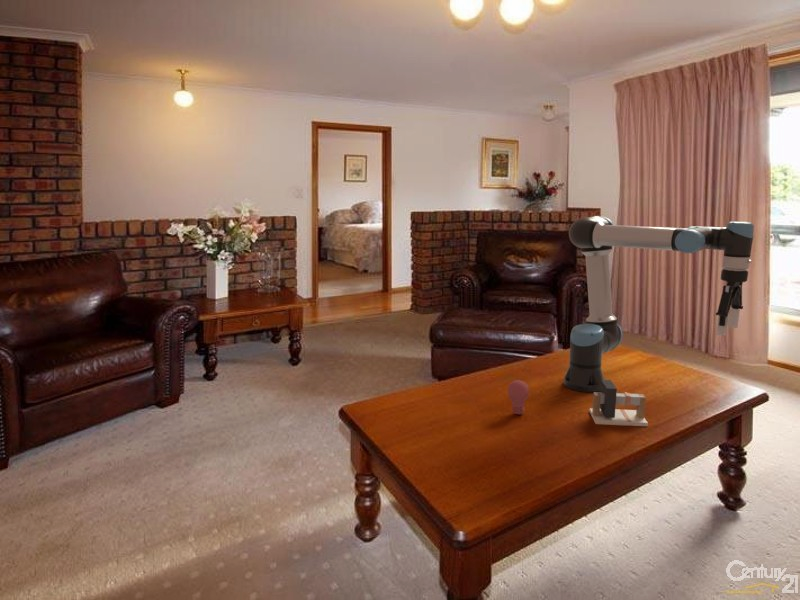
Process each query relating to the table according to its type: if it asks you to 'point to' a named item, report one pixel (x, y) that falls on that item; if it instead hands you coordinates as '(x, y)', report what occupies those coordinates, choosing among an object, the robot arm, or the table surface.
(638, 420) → the pipe rig
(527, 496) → the table surface
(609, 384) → the dark grey block
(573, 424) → the table surface
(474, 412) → the table surface
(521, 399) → the light bulb
